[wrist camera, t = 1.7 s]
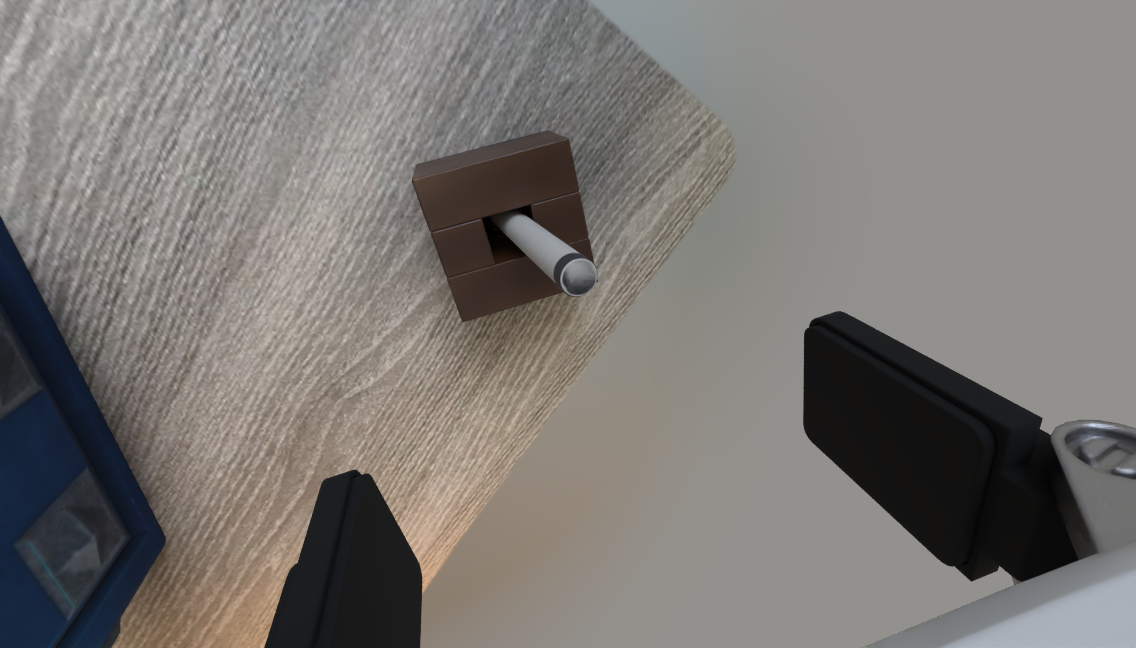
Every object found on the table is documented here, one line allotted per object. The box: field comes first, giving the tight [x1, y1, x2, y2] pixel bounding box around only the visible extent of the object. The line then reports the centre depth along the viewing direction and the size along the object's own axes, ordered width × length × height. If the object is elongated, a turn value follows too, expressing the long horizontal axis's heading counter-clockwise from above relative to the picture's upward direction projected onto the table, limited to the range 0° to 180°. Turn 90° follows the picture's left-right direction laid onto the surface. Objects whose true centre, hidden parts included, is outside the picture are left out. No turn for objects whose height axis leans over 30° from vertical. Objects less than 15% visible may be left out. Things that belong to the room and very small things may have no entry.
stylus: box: [490, 209, 598, 297], centre depth 23 cm, size 1×1×13 cm
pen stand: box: [412, 131, 598, 322], centre depth 26 cm, size 7×7×5 cm
